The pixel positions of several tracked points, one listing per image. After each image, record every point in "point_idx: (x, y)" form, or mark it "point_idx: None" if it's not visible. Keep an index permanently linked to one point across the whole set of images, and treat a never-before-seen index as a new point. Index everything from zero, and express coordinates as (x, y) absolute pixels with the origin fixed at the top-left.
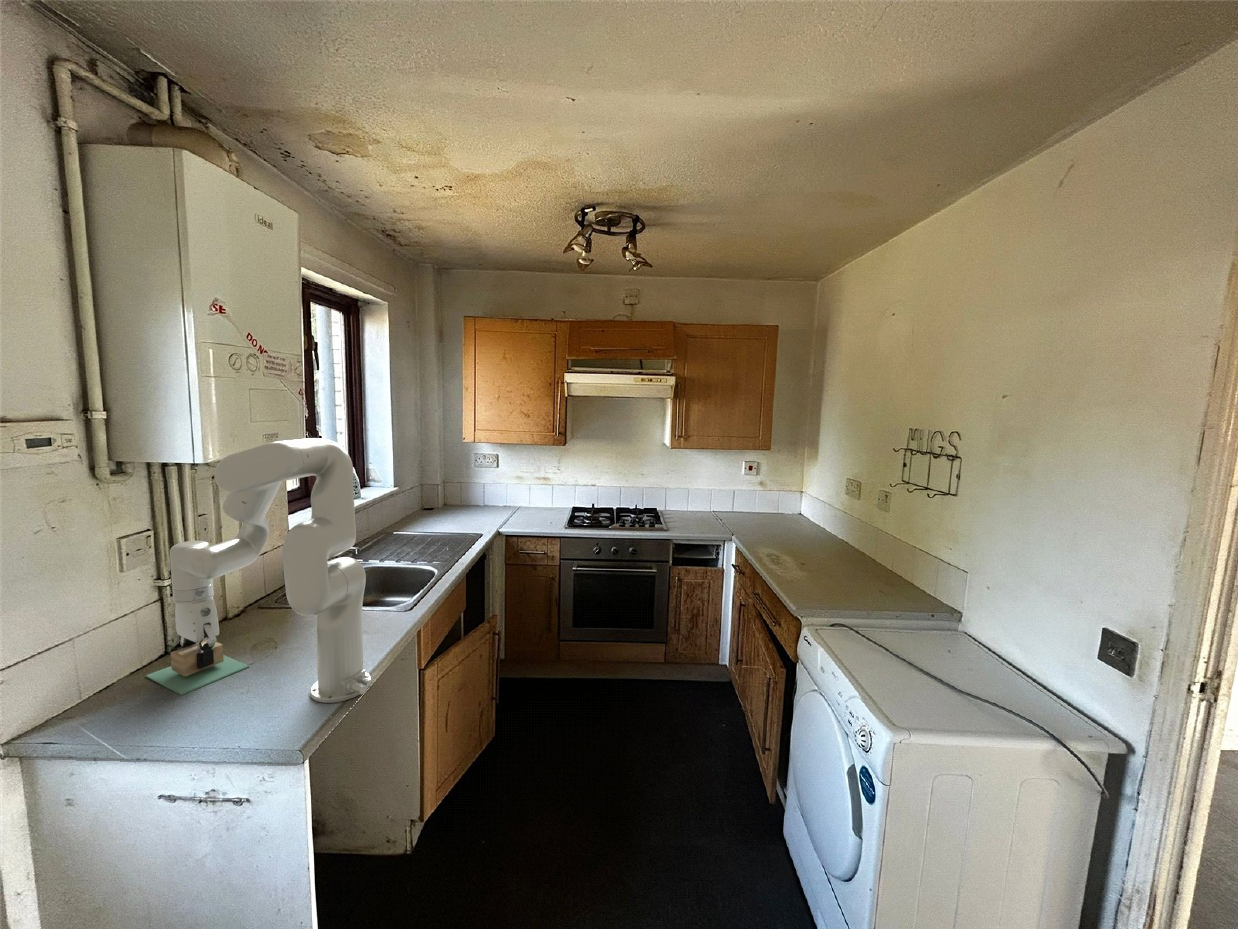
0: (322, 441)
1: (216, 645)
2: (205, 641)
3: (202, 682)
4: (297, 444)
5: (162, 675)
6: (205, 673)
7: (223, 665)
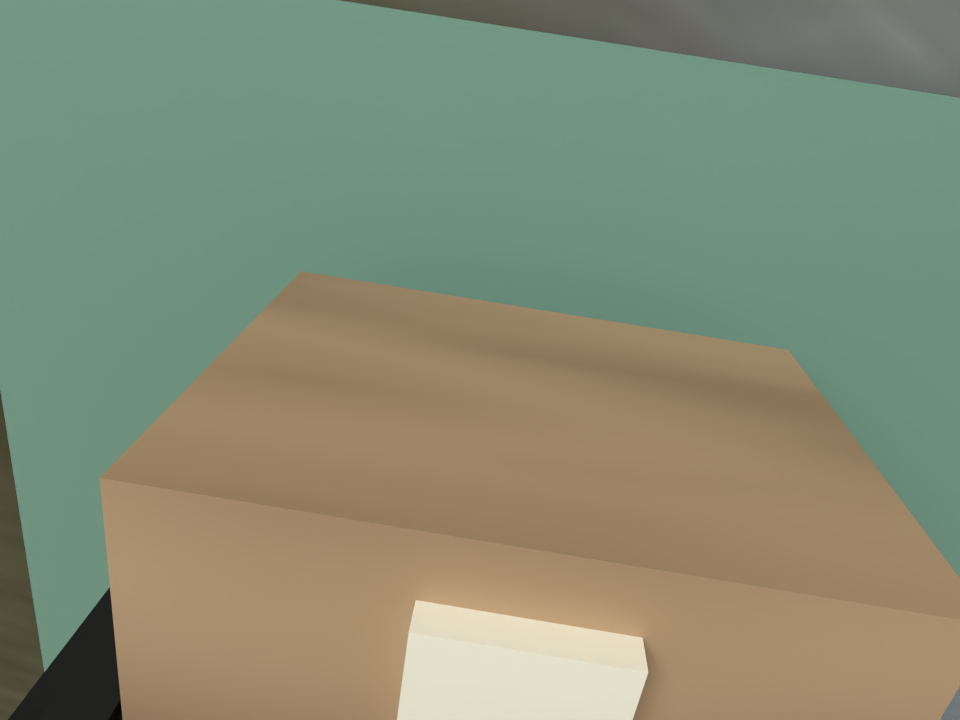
0: None
1: (830, 709)
2: (209, 630)
3: None
4: None
5: None
6: None
7: (733, 302)
